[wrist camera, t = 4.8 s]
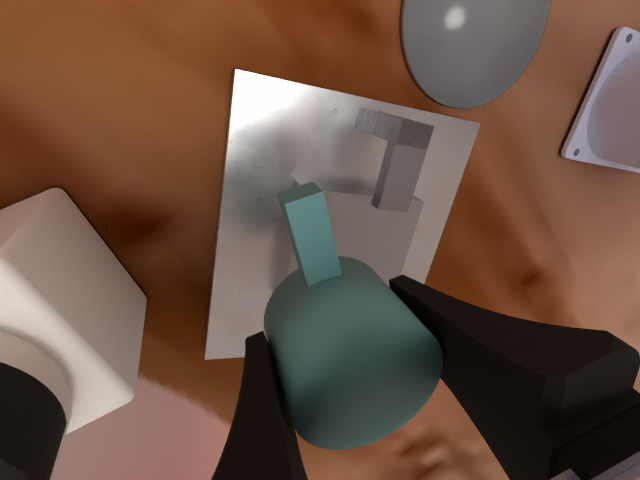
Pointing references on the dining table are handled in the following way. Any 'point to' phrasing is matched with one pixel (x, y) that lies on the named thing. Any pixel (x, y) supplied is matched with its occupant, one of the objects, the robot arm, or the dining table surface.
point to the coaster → (470, 46)
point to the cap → (343, 338)
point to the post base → (308, 152)
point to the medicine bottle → (60, 331)
